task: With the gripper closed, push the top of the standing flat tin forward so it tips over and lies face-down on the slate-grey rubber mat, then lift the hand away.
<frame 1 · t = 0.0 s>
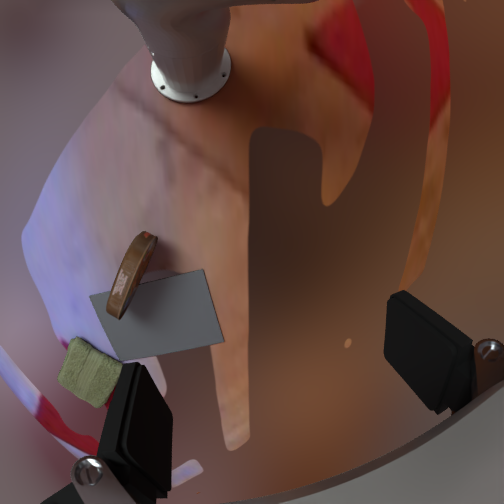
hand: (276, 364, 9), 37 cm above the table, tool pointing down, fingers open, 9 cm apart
tin: (136, 267, 45), on the table, touching mat
washcloth: (90, 371, 49), on the table, touching mat
mat: (155, 320, 48), on the table
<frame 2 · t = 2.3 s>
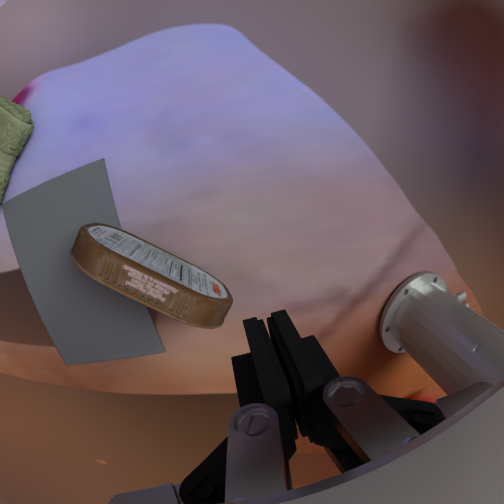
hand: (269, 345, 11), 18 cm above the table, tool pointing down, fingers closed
tin: (158, 257, 27), on the table, touching mat
mat: (74, 278, 26), on the table
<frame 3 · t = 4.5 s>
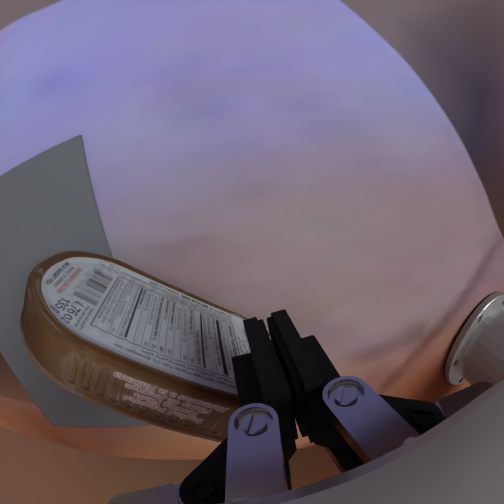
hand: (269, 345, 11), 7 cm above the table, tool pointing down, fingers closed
tin: (175, 298, 17), on the table, touching mat
mat: (46, 325, 16), on the table
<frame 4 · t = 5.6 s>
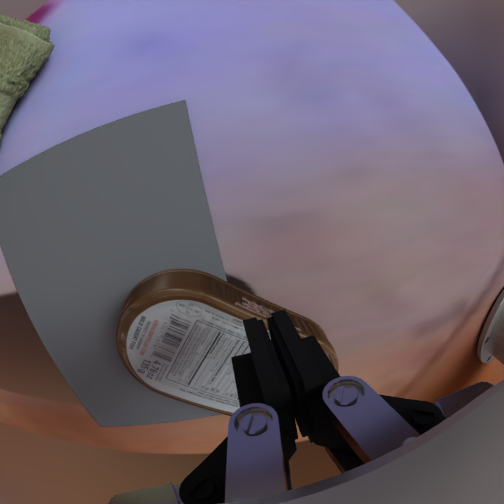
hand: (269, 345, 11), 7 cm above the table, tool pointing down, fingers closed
tin: (270, 308, 16), point 2 cm above the table, touching mat
mat: (116, 310, 16), on the table
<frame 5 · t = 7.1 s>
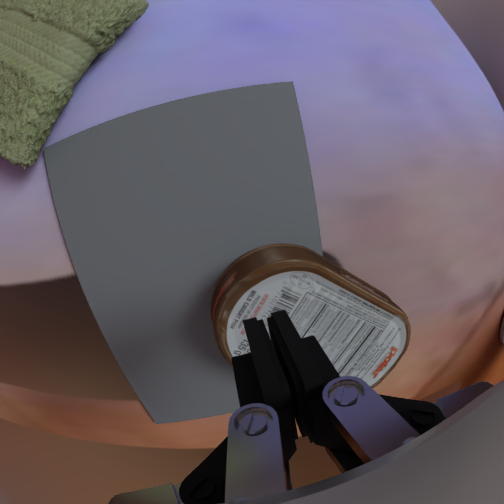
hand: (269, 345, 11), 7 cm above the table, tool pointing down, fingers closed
tin: (364, 280, 16), point 2 cm above the table, touching mat
washcloth: (19, 47, 9), on the table, touching mat
mat: (203, 290, 17), on the table
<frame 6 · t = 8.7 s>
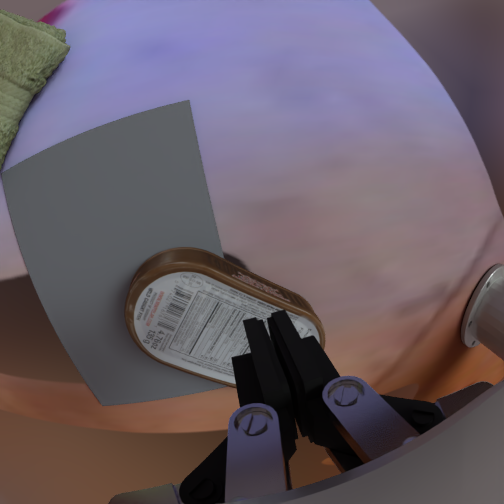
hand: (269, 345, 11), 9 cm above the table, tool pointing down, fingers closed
tin: (262, 281, 18), point 2 cm above the table, touching mat
mat: (123, 287, 18), on the table
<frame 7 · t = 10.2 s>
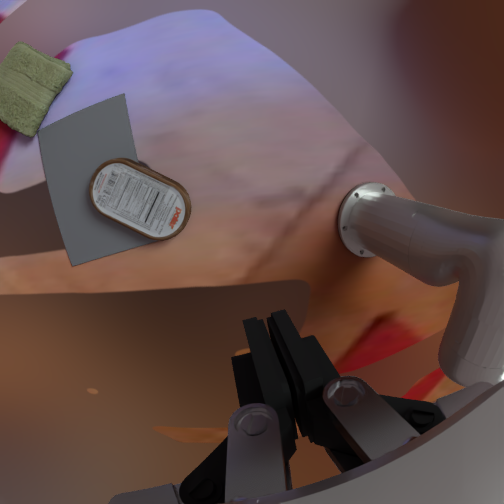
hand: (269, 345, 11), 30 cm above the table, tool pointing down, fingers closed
tin: (152, 169, 34), point 2 cm above the table, touching mat
washcloth: (25, 88, 27), on the table, touching mat
mat: (91, 181, 34), on the table
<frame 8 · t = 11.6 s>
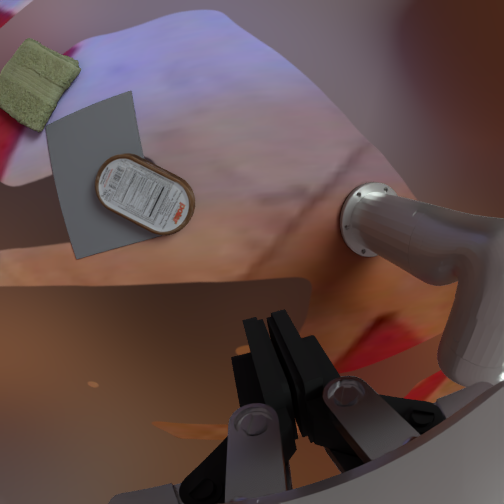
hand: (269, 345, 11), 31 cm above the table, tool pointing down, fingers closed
tin: (157, 165, 35), point 2 cm above the table, touching mat
washcloth: (34, 83, 28), on the table, touching mat
mat: (97, 176, 35), on the table
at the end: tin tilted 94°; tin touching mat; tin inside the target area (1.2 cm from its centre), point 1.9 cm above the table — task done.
